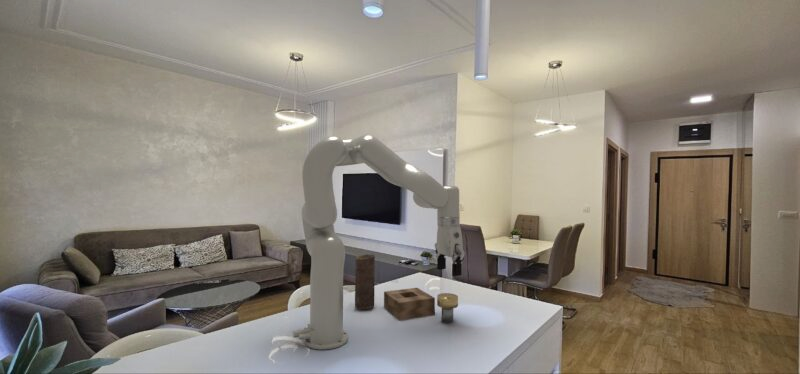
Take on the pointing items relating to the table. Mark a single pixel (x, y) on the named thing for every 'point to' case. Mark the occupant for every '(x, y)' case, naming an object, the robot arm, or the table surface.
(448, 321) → the pin
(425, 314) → the block
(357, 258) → the brown wooden cylinder
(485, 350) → the table surface
